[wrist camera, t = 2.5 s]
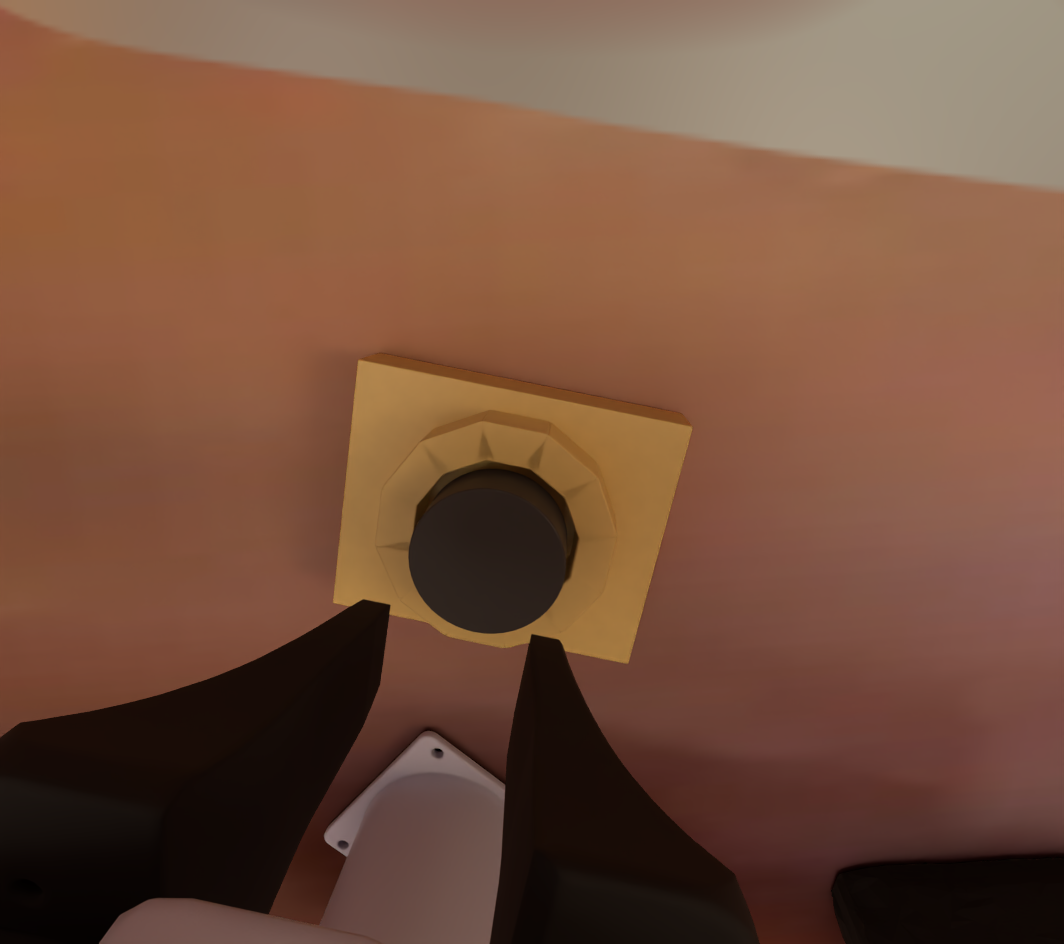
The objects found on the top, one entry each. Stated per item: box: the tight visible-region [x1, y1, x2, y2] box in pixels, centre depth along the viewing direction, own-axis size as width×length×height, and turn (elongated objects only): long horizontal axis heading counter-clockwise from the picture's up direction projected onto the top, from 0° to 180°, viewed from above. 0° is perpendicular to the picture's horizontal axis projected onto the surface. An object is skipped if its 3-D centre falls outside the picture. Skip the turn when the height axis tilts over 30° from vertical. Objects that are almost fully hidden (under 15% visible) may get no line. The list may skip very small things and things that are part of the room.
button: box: [408, 469, 567, 634], centre depth 19 cm, size 5×5×2 cm
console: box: [333, 353, 693, 664], centre depth 21 cm, size 11×9×4 cm
